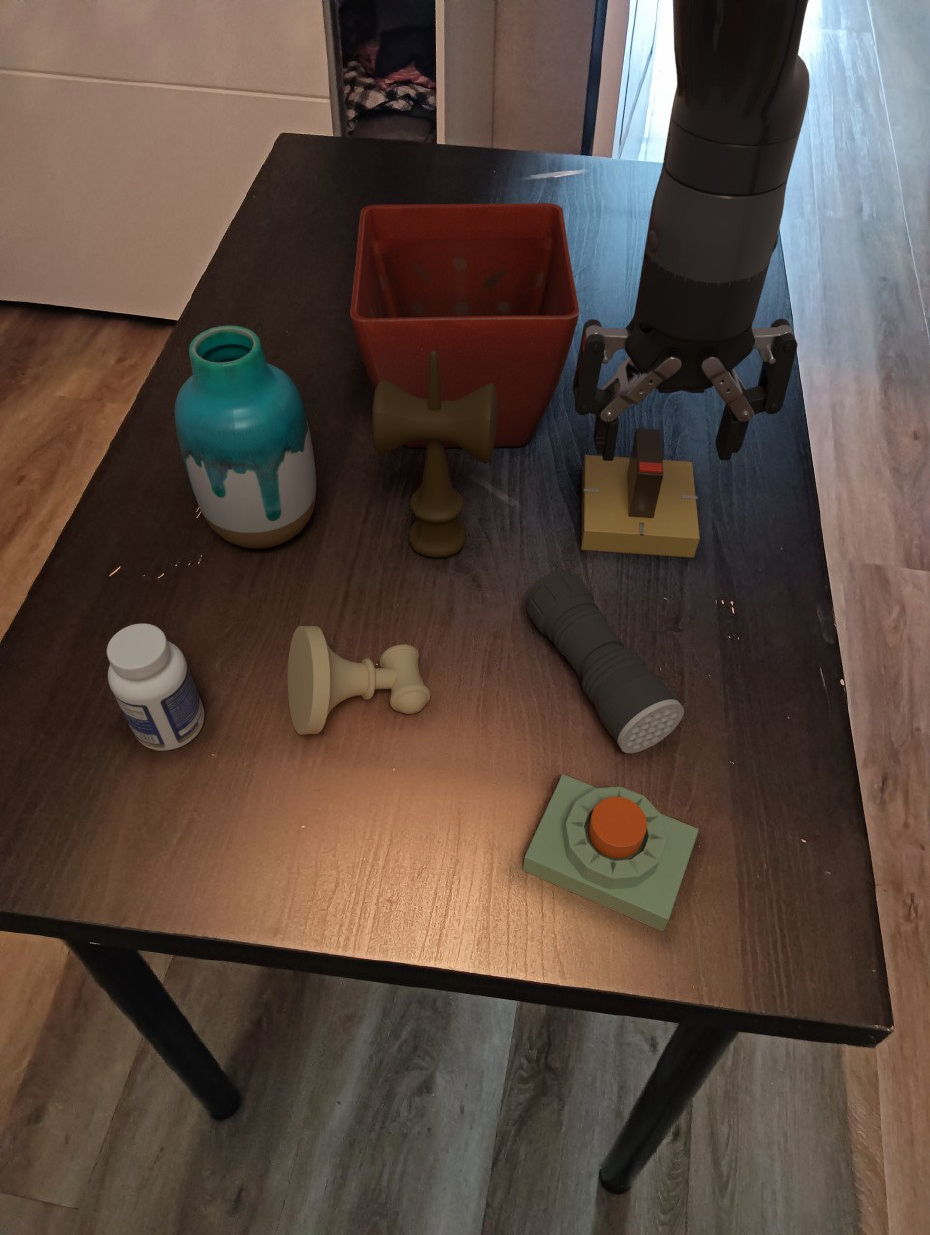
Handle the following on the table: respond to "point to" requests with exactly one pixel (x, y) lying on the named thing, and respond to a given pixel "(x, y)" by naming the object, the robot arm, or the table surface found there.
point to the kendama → (435, 451)
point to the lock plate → (622, 533)
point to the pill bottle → (154, 687)
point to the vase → (245, 441)
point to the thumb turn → (645, 473)
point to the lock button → (617, 827)
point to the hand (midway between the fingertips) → (664, 453)
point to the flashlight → (603, 663)
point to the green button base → (615, 883)
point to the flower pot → (467, 304)
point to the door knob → (346, 679)
